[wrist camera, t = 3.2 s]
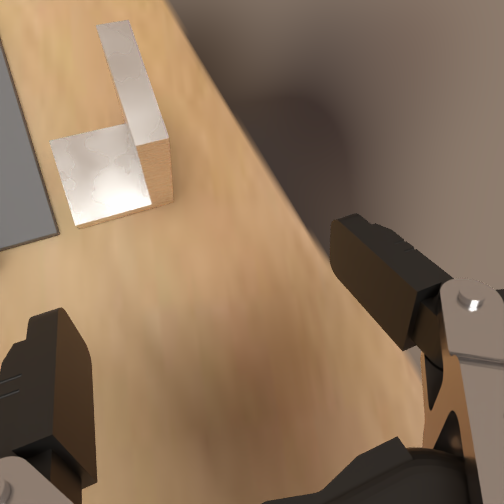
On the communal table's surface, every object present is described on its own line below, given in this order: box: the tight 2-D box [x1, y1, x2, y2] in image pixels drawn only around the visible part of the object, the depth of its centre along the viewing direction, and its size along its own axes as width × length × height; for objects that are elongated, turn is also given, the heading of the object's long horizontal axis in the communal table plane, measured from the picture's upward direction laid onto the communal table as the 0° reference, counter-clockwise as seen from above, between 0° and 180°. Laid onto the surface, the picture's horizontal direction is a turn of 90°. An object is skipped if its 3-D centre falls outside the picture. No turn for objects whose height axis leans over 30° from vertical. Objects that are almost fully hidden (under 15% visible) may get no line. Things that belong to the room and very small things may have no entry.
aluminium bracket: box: [49, 20, 174, 229], centre depth 21 cm, size 6×6×10 cm
